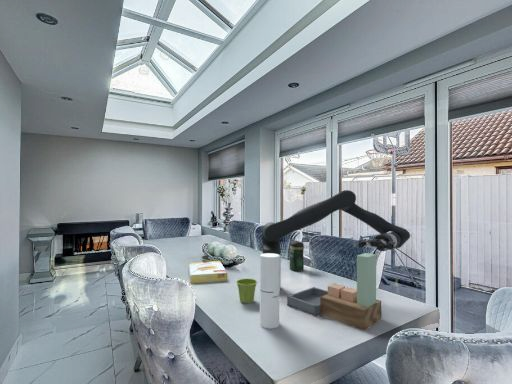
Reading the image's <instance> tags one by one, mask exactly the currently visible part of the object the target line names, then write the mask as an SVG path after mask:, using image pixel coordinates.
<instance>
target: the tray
mask: <svg viewBox="0 0 512 384" xmlns="http://www.w3.org/2000/svg"><path fill="white" fill-rule="evenodd" d="M327 294H328V290H327V289H326V290H325V289H323V288H318V287H315V286H312V287H310V288H309V287H308V288H306V289H304V290H301V291H298V292H295V293H293V294H290V295H287V297H286V299H287V300H286V301H287V303H286V306H288V307H290V308H292V309H295V310H297V311H300V312H303V313H306V314H309V315H311V316H314V317H319V316H321V315H320V297H322V296H324V295H327Z"/></svg>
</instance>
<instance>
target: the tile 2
mask: <svg viewBox="0 0 512 384" xmlns="http://www.w3.org/2000/svg"><path fill="white" fill-rule="evenodd" d="M341 299H344V300H347V301H350V302H355V301H357V288H353V287H349V286H347V287H345V288H344V289H342V290H341Z"/></svg>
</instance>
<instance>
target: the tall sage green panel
mask: <svg viewBox="0 0 512 384" xmlns="http://www.w3.org/2000/svg"><path fill="white" fill-rule="evenodd" d="M356 289H357V305H360V306H363V307H367V308H368V307H370V306H371V305H373V304H375V303H376V300H377V254H373V253H368V252H366V253H365V252H364V253H361V254H357V255H356Z"/></svg>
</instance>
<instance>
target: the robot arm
mask: <svg viewBox="0 0 512 384" xmlns="http://www.w3.org/2000/svg"><path fill="white" fill-rule="evenodd" d="M356 201H357V196H356V194H355V192H353V191H352V190H348V189H346V190H345V189H344V190H342V191H340V192H338V193H337V194H334V195H333V196H331V197H329V198H328V199H324V200H321V201H319V202H317V203H314V204H311V205H309V206H306V207H304V208H301V209H300V210H298V211H297V212H295V213H294V214H292V215H291V216H289V217H287V218H286V219H285V218H284V219H283V220H279V221H276V222H271V221H270V222H266V223H265V224H264V225H263V227H262V232H261V233H262V235H261V240H262V241H261V243H262V245H261V246H262V248H261V249H262V254H265V253H274V254H279V255H280V288H281V286H282V285H281V279H282V278H281V277H282V276H281V275H282V274H281V271H282V269H281V268H282V266H281V263H282V260H281V259H282V257H281V255H282V252H281V250H282V249H281V243H280V241H281V239H282V238H284V237H286V236H288V235H289V234H292V233H294V232H296V231H299V230H302V229H305V228H307V227H309V226H312V225H314V224H317V223H318V222H320V221H322V220H323V219H326V218H327V217H328V216H330V215H331V214H333V213H335V212H338V210H341V211H343V212H344V213H347V214H349V215H351V216H352V217H354V218H356V219H358V220H360V221H361V222H362V223H365V224H366V225H367V226H369V227H370V228H372V229H373V230H374V231H375V232H378V233H379V234H376V235H375V236H374V237H373V238H372V239H371V238H370V239H367V238H364V239H358V244H357V245H358V248H360V249H361V248H364V247H367V248H368V249H369V248H372V249H376V250H378V251H379V252H386V251H392V250H394V249H400V248H401V247H403V245H405V243H406V242H407V241H408V240H409V239H410V237H411V234H410V232H409V231H408V230H407V229H406V228H405V227H401V226H399V225H395V224H393V223H391V222H389V221H388V220H386V219H385V218H383V217H381V216H380V215H378V214H377V213H375V212H371V211H370V210H367V209H364V208H363V207H361V206H360V205H358V204H357V203H356Z"/></svg>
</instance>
